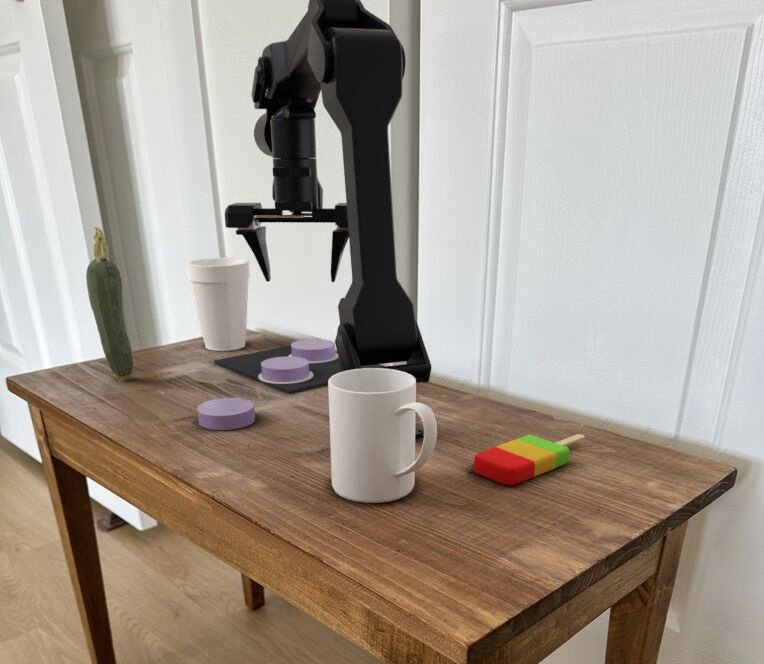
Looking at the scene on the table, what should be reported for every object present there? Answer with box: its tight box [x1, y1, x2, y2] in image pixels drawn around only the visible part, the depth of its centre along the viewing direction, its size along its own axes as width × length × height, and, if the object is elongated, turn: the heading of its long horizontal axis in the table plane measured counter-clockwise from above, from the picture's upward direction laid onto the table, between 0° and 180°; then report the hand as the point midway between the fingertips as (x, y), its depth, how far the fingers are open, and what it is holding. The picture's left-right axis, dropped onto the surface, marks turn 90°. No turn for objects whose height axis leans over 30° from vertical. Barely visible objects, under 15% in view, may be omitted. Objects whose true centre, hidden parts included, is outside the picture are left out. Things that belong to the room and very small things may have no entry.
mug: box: [327, 368, 438, 504], centre depth 69 cm, size 12×8×10 cm, turn 38°
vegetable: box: [85, 226, 134, 381], centre depth 100 cm, size 4×4×20 cm
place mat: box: [213, 345, 386, 394], centre depth 111 cm, size 20×17×1 cm
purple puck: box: [290, 338, 336, 362], centre depth 114 cm, size 7×7×2 cm
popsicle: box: [473, 433, 586, 486], centre depth 78 cm, size 6×15×2 cm, turn 131°
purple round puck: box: [261, 357, 310, 382], centre depth 105 cm, size 7×7×2 cm
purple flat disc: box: [196, 397, 256, 431], centre depth 89 cm, size 7×7×2 cm
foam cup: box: [185, 257, 251, 352], centre depth 119 cm, size 10×9×13 cm
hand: (300, 281), depth 106 cm, fingers open, 9 cm apart
